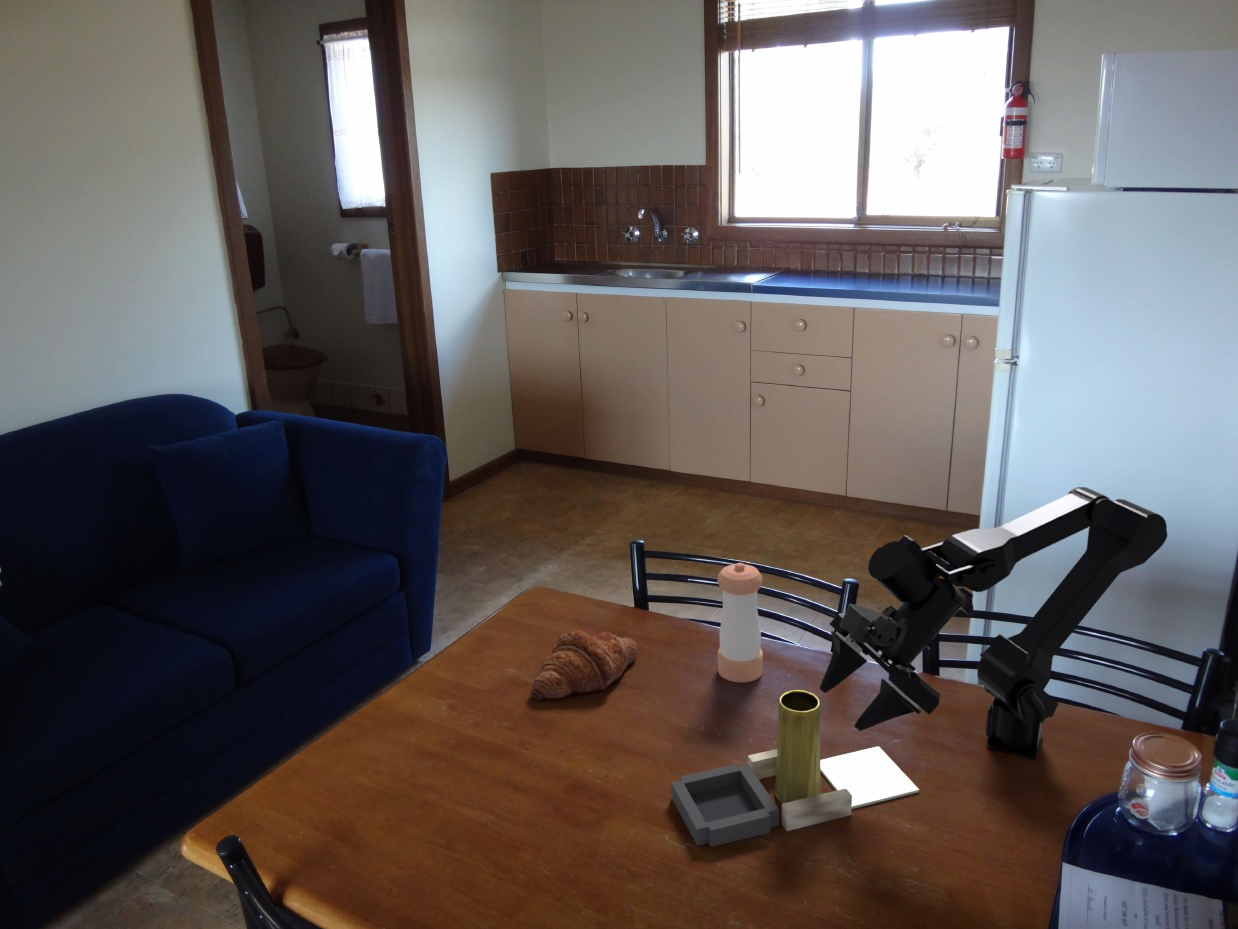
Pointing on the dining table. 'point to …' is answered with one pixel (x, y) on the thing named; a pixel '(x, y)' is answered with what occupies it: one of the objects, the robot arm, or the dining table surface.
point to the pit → (724, 805)
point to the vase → (798, 746)
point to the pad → (867, 776)
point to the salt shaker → (740, 624)
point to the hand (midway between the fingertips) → (838, 709)
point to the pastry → (583, 664)
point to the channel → (807, 808)
